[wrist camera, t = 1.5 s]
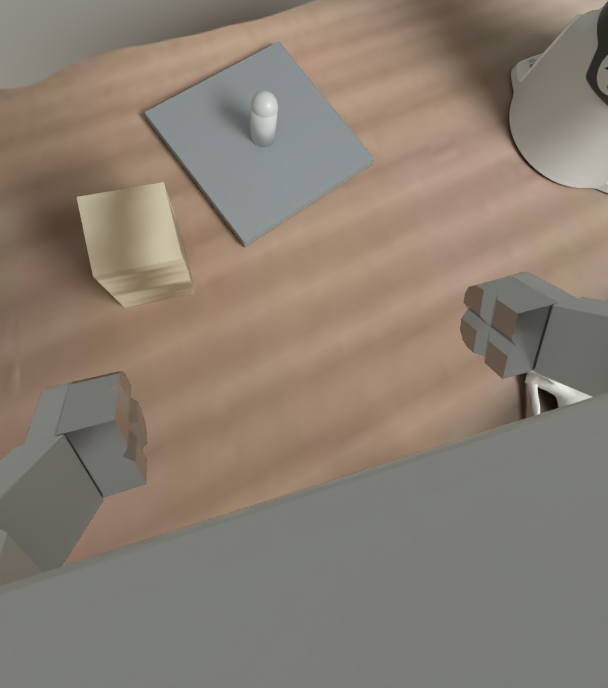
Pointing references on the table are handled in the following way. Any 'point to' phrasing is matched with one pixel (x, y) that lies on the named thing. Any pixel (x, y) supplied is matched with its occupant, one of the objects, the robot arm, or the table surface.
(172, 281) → the beige block
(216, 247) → the table surface
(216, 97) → the post base
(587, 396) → the woman figurine
